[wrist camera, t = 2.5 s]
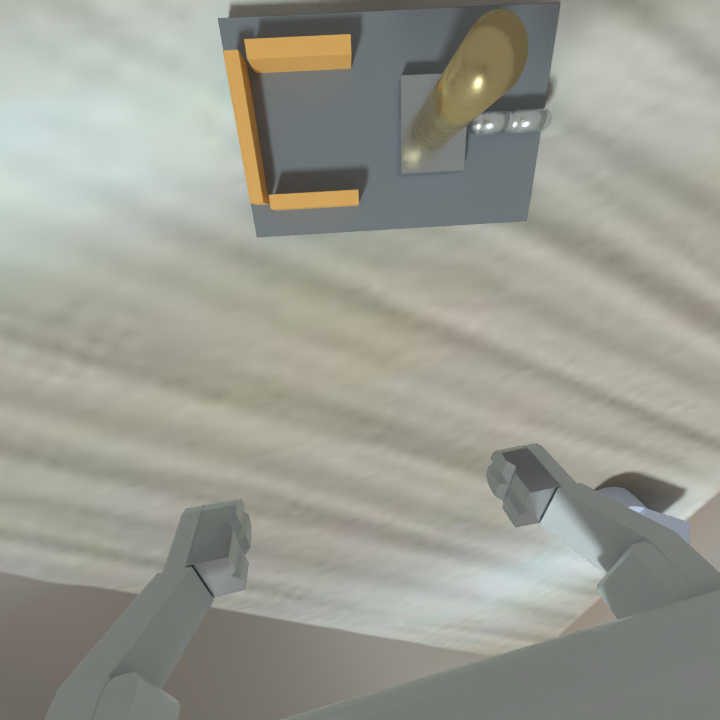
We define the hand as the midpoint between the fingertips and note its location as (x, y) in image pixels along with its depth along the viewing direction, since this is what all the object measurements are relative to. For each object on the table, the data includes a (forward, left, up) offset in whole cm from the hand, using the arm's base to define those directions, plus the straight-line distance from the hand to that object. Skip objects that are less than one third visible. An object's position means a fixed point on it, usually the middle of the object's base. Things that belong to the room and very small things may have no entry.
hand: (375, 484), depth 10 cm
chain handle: (+10, +14, -21) cm, 28 cm away
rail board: (+4, +14, -23) cm, 27 cm away
